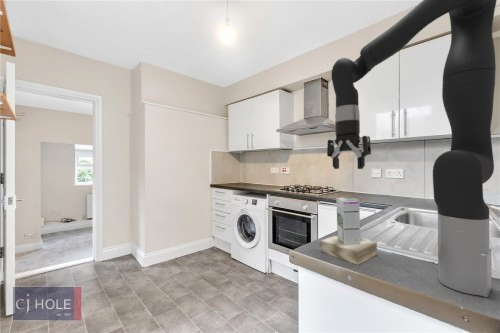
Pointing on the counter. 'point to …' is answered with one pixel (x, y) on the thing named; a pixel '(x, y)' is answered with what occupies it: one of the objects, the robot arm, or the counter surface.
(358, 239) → the syrup box
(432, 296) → the counter surface
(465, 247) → the robot arm
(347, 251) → the beige flat block
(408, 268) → the counter surface
